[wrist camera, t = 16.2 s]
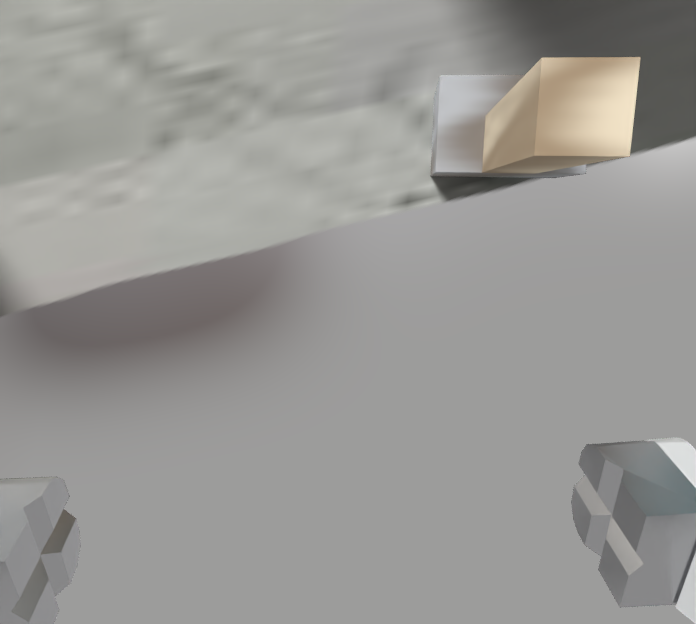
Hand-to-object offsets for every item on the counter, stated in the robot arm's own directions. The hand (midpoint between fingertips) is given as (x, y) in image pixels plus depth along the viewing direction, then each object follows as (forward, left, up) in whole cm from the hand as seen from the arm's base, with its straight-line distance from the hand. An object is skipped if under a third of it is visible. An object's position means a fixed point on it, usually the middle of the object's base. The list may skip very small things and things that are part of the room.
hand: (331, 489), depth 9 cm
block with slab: (+6, +6, -18) cm, 19 cm away
